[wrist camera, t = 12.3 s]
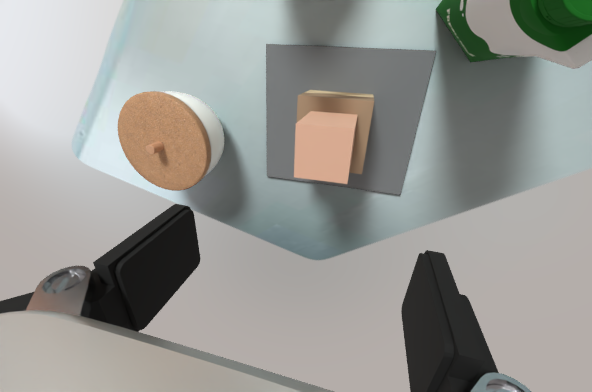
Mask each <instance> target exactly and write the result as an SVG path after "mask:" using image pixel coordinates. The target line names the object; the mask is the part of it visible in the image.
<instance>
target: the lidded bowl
mask: <svg viewBox="0 0 592 392" xmlns="http://www.w3.org/2000/svg"><path fill="white" fill-rule="evenodd" d="M118 135H119V139H120V143H121V146H122V149H123V151H124V153H125V155H126V157H127V159H128V160H129V162H130V163H131V165H132V166H133V167H134V169H135V170H136V171H137V172H138V173H139V174H140V175H141V176H143V177H144V178H145V179H146V180H148V181H149V182H151V183H152V184H154V185H156V186H158V187H161V188H164V189H168V190H185V189H188V188H190V187H192V186H194V185H195V184H197V183H198V182H199V181H200V180H201V179H203V178H204V177H205V176H206V175H207V174H208V173H209V172H211V171H212V170H213V168H214V167H215V166H216V165H217V163H218V162H219V160H220V158H221V156H222V153H223V149H224V143H225V141H224V132H223V128H222V125H221V123H220V120H219V118H218V117H217V115H216V114H215V112H214V111H213V110H212V109H211V108H210V107H209V106H208V105H207V104H206V103H204V102H203V101H201V100H200V99H198V98H196V97H194V96H192V95H189V94H185V93H181V92H173V91H164V92H156V91H154V92H143V93H140V94H136V95H135V96H133V97H131V98H130V99H129V100H128V101H127V102H126V103H125V104H124V106H123V107H122V110H121V112H120V115H119V119H118Z"/></svg>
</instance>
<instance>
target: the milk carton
mask: <svg viewBox="0 0 592 392" xmlns="http://www.w3.org/2000/svg"><path fill="white" fill-rule="evenodd" d="M436 10H437V12H438V13H439V15H440V17H441V18H442V20H443V21H444V23H445V24H446V26H447V27H448V29H449V30H450V32H451V33H452V35H453V36H454V38H455V40H456V41H457V43H458V44H459V46H460V47H461V49H462V50H463V52H464V53H465V55H466V56H467V58H468V59H469V61H470V62H476V61H484V60H492V59H499V58H512V57H533V56H537V57H540V58H543V59H546V60H549V61H552V62H555V63H558V64H561V65H563V66H566V67H569V68H572V69H575V68H579V67H581V66H583V65H584V64H586V63H587V62H589V61H591V60H592V0H442V2H441V3H440V4H439V6H438V7H437V8H436Z"/></svg>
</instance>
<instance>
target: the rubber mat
mask: <svg viewBox="0 0 592 392" xmlns="http://www.w3.org/2000/svg"><path fill="white" fill-rule="evenodd" d="M435 54H436V51H428V50H403V49H378V48H353V47H327V46H302V45H277V44H266V105H267V176H270V177H277V178H284V179H291V180H298V181H305V182H313V183H320V184H327V185H334V186H341V187H349V188H356V189H363V190H370V191H377V192H384V193H392V194H399V195H400V194H401V190H402V186H403V182H404V178H405V174H406V170H407V166H408V162H409V158H410V154H411V150H412V146H413V142H414V138H415V134H416V130H417V126H418V122H419V118H420V114H421V110H422V106H423V102H424V98H425V94H426V90H427V86H428V82H429V78H430V74H431V70H432V66H433V62H434V58H435ZM309 90H318V91H332V92H346V93H360V94H373V96H374V106H373V112H372V118H371V124H370V130H369V135H368V141H367V147H366V153H365V159H364V165H363V171H362V174H356V173H349V177H348V183H347V184H343V183H335V182H327V181H319V180H311V179H303V178H295V177H294V159H295V129H296V123H297V102H298V95H300V94H302V93H304V92H307V91H309Z"/></svg>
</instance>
